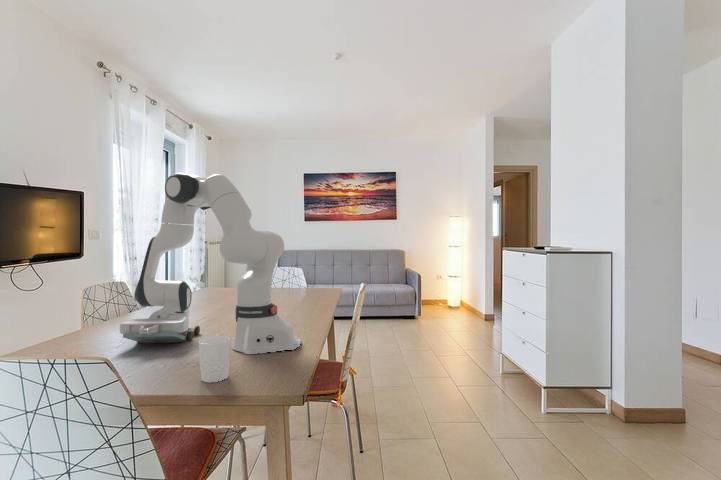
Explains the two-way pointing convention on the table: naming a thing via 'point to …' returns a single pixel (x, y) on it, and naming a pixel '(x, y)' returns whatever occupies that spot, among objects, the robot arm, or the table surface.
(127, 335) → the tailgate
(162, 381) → the table surface
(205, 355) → the white cup
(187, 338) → the cart bed
